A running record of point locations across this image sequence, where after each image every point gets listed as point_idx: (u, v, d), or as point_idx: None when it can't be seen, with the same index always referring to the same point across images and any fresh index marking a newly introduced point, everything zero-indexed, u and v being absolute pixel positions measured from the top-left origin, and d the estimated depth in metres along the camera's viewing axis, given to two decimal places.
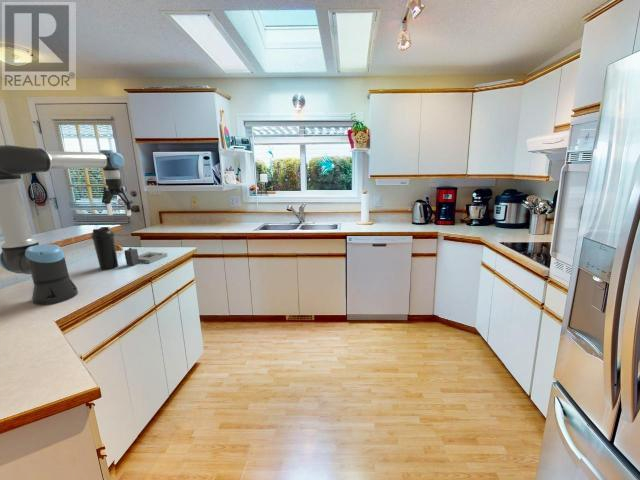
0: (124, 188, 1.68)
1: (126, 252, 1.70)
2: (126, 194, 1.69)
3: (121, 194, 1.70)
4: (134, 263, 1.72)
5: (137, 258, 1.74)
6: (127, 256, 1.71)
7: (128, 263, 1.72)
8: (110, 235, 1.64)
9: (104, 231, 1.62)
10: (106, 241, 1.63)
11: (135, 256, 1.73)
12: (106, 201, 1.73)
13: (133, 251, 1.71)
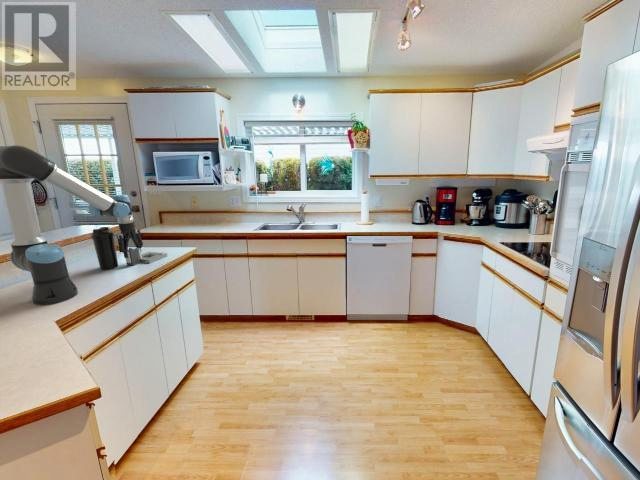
0: (118, 237, 1.64)
1: None
2: (119, 243, 1.65)
3: (124, 240, 1.68)
4: (134, 263, 1.72)
5: (137, 258, 1.74)
6: None
7: (128, 263, 1.72)
8: (110, 235, 1.64)
9: (104, 231, 1.62)
10: (106, 241, 1.63)
11: (135, 256, 1.73)
12: (135, 244, 1.76)
13: (133, 251, 1.71)
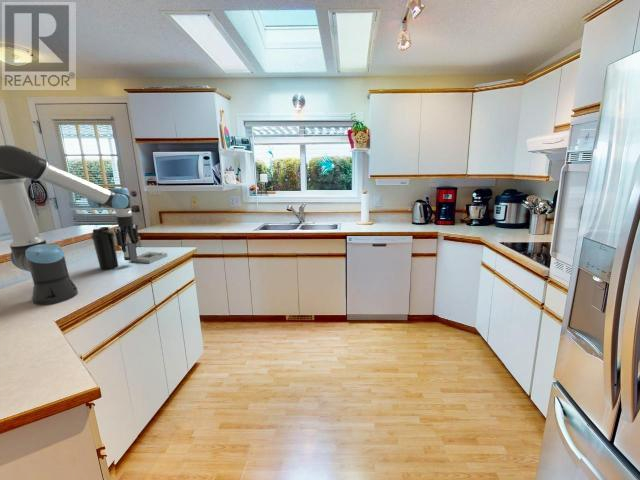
0: (115, 230, 1.62)
1: None
2: (117, 236, 1.64)
3: (122, 234, 1.67)
4: (132, 258, 1.71)
5: (135, 253, 1.73)
6: None
7: (126, 257, 1.70)
8: (110, 235, 1.64)
9: (104, 231, 1.62)
10: (106, 241, 1.63)
11: (133, 251, 1.71)
12: (131, 240, 1.73)
13: (131, 245, 1.70)
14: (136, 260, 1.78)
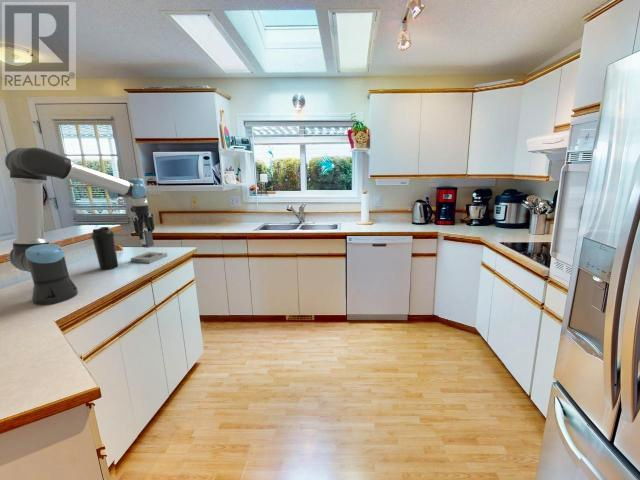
0: (133, 219, 1.72)
1: None
2: (135, 225, 1.73)
3: (139, 222, 1.76)
4: (149, 245, 1.80)
5: (151, 240, 1.82)
6: None
7: (143, 245, 1.80)
8: (110, 235, 1.64)
9: (104, 231, 1.62)
10: (106, 241, 1.63)
11: (150, 238, 1.81)
12: (147, 228, 1.83)
13: (148, 233, 1.79)
14: (136, 260, 1.78)
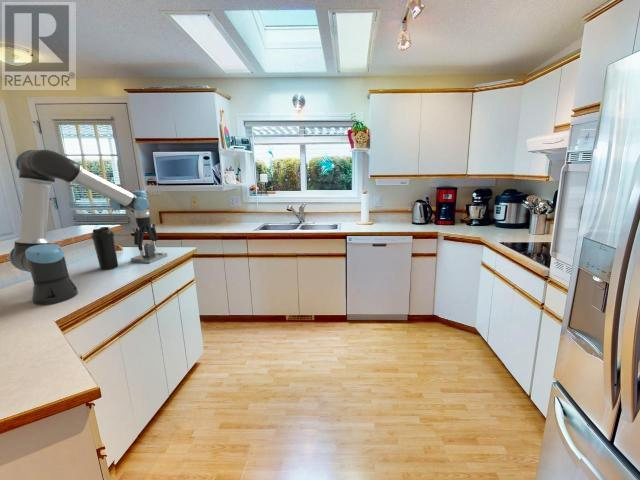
0: (135, 230, 1.73)
1: None
2: (135, 236, 1.74)
3: (140, 233, 1.77)
4: None
5: (153, 253, 1.84)
6: None
7: (145, 257, 1.82)
8: (110, 235, 1.64)
9: (104, 231, 1.62)
10: (106, 241, 1.63)
11: (151, 251, 1.82)
12: None
13: (149, 246, 1.81)
14: (136, 260, 1.78)
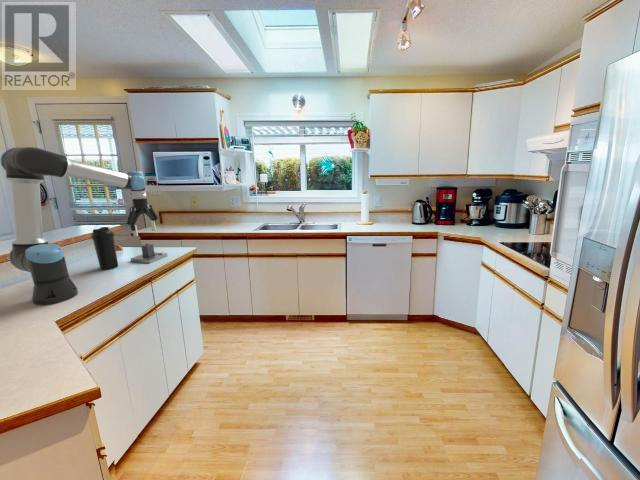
0: (131, 209, 1.70)
1: (142, 247, 1.80)
2: (130, 215, 1.69)
3: (135, 214, 1.73)
4: None
5: (153, 253, 1.84)
6: (143, 251, 1.81)
7: (145, 257, 1.82)
8: (110, 235, 1.64)
9: (104, 231, 1.62)
10: (106, 241, 1.63)
11: (151, 251, 1.82)
12: (150, 218, 1.84)
13: (149, 246, 1.81)
14: (136, 260, 1.78)
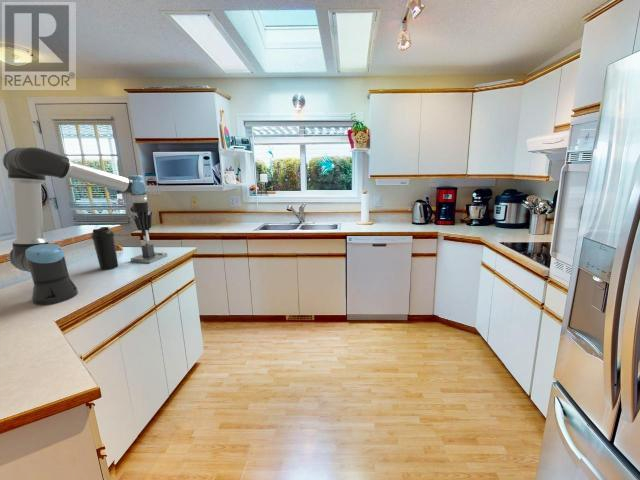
0: (133, 217, 1.72)
1: (142, 247, 1.80)
2: (136, 222, 1.74)
3: (140, 219, 1.76)
4: None
5: (153, 253, 1.84)
6: (143, 251, 1.81)
7: (145, 257, 1.82)
8: (110, 235, 1.64)
9: (104, 231, 1.62)
10: (106, 241, 1.63)
11: (151, 251, 1.82)
12: None
13: (149, 246, 1.81)
14: (136, 260, 1.78)
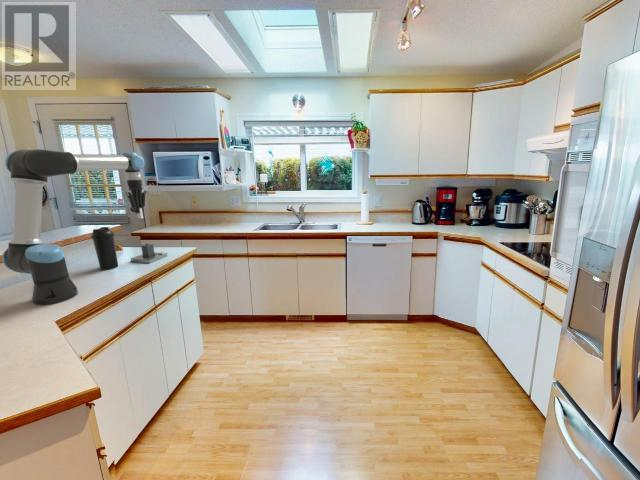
0: (127, 194, 1.75)
1: (142, 247, 1.80)
2: (130, 199, 1.77)
3: (134, 197, 1.79)
4: None
5: (153, 253, 1.84)
6: (143, 251, 1.81)
7: (145, 257, 1.82)
8: (110, 235, 1.64)
9: (104, 231, 1.62)
10: (106, 241, 1.63)
11: (151, 251, 1.82)
12: None
13: (149, 246, 1.81)
14: (136, 260, 1.78)
